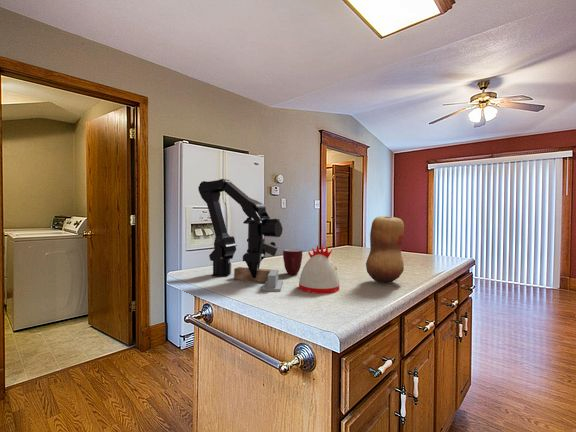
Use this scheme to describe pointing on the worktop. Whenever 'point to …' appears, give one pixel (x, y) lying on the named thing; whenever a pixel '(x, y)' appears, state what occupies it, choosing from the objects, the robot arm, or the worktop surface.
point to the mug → (292, 260)
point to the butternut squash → (385, 249)
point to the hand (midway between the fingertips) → (255, 276)
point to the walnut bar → (245, 274)
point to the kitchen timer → (319, 273)
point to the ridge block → (273, 282)
